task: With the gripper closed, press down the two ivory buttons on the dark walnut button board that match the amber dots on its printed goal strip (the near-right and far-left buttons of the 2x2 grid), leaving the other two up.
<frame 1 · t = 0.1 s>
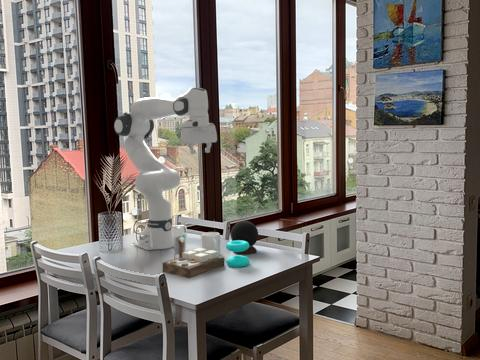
hand: (200, 153, 232), 48 cm above the table, tool pointing down, fingers open, 8 cm apart
board: (194, 268, 214), on the table
black ball on stand: (245, 252, 240), on the table
button 2: (201, 259, 212), point 4 cm above the table, slide at 0.0 cm
button 3: (199, 253, 221), point 5 cm above the table, slide at 0.0 cm
donuts: (238, 265, 218), on the table
mug: (212, 256, 234), on the table
button 1: (189, 256, 217), point 4 cm above the table, slide at 0.0 cm
beer glass: (180, 258, 232), on the table
button 4: (211, 256, 217), point 4 cm above the table, slide at 0.0 cm
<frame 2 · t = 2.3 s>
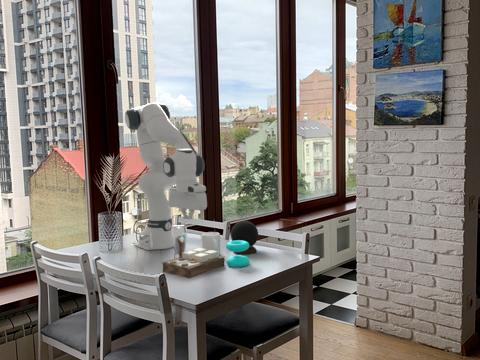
hand: (187, 218, 215), 21 cm above the table, tool pointing down, fingers closed
nothing on the table moved.
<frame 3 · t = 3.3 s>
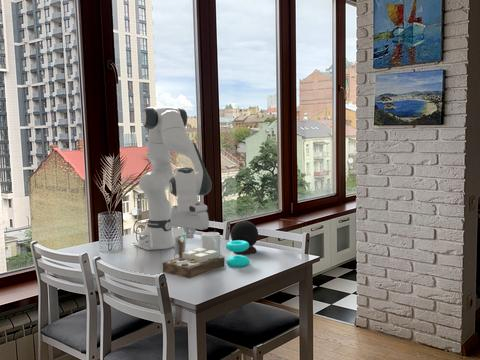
hand: (190, 238, 215), 13 cm above the table, tool pointing down, fingers closed
nothing on the table moved.
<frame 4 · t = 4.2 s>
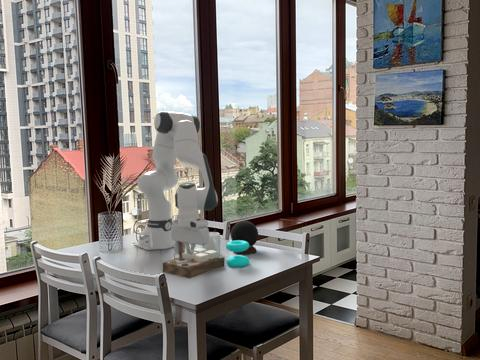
hand: (190, 252, 216), 6 cm above the table, tool pointing down, fingers closed, pressing on button 1
button 1: (189, 257, 217), point 4 cm above the table, slide at 0.3 cm, touching gripper
everything else where it was.
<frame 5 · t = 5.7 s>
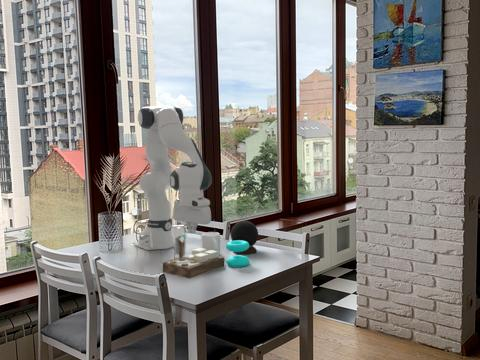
hand: (192, 232, 215), 15 cm above the table, tool pointing down, fingers closed
button 1: (189, 260, 217), point 3 cm above the table, slide at 1.6 cm
everything else where it was.
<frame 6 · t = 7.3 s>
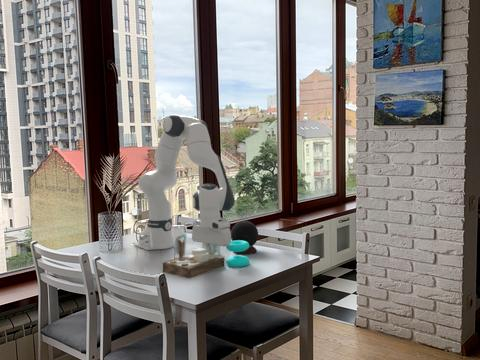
hand: (211, 253, 217), 6 cm above the table, tool pointing down, fingers closed, pressing on button 4
button 4: (211, 258, 217), point 4 cm above the table, slide at 1.0 cm, touching gripper
everything else where it was.
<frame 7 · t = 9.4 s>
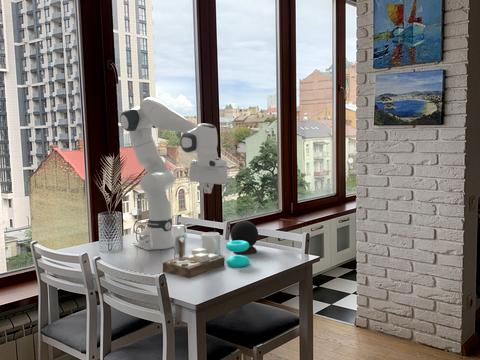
hand: (207, 193, 219), 31 cm above the table, tool pointing down, fingers closed
button 4: (211, 259, 217), point 3 cm above the table, slide at 1.5 cm
everything else where it was.
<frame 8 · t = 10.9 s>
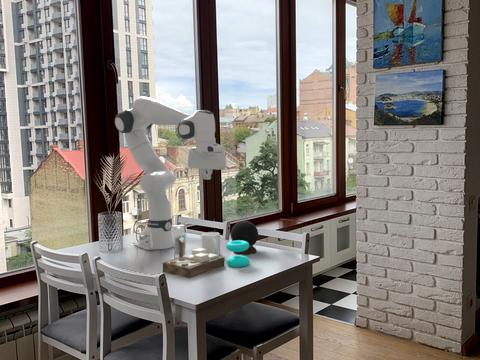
hand: (207, 179, 220), 37 cm above the table, tool pointing down, fingers closed
nothing on the table moved.
at the end: button 1 slide at 1.6 cm; button 4 slide at 1.5 cm; button 2 slide at 0.0 cm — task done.
